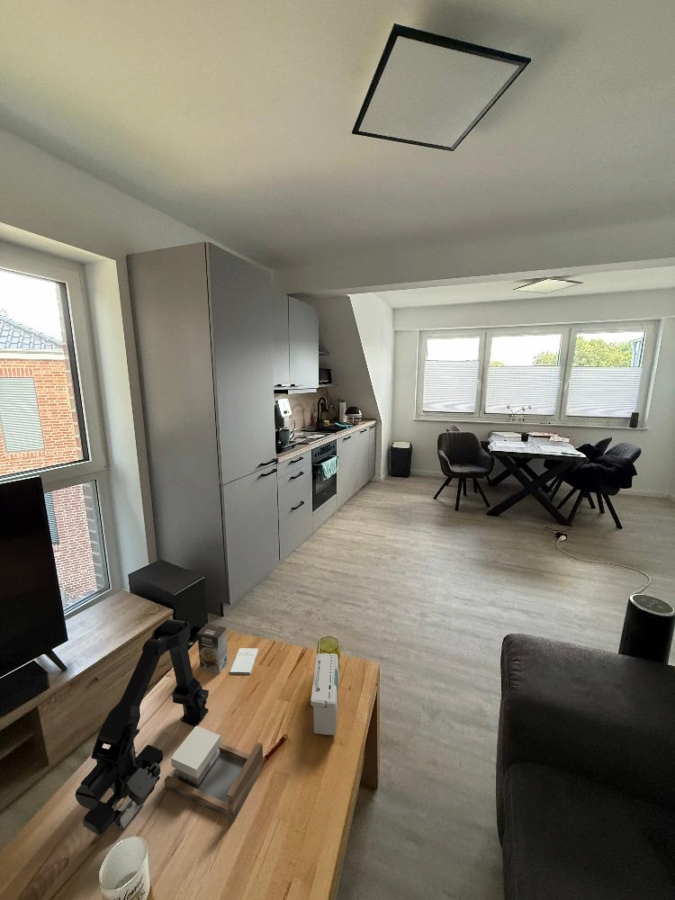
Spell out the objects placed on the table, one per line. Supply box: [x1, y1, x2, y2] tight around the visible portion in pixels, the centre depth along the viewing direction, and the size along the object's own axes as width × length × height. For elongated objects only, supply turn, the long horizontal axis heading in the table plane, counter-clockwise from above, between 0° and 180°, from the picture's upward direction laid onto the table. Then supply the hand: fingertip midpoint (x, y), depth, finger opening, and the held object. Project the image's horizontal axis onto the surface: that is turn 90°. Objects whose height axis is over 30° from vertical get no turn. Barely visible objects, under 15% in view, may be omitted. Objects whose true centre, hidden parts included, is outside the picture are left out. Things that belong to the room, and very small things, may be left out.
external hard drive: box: [228, 647, 259, 675], centre depth 143 cm, size 2×8×12 cm
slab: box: [170, 725, 222, 779], centre depth 103 cm, size 9×10×3 cm
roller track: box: [164, 741, 264, 822], centre depth 101 cm, size 23×14×8 cm, turn 70°
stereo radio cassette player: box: [310, 639, 340, 736], centre depth 121 cm, size 21×8×20 cm, turn 178°
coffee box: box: [196, 623, 229, 674], centre depth 140 cm, size 9×6×16 cm
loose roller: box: [117, 797, 144, 830], centre depth 93 cm, size 4×6×4 cm, turn 160°
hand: (130, 810), depth 93 cm, fingers closed on loose roller, 6 cm apart
